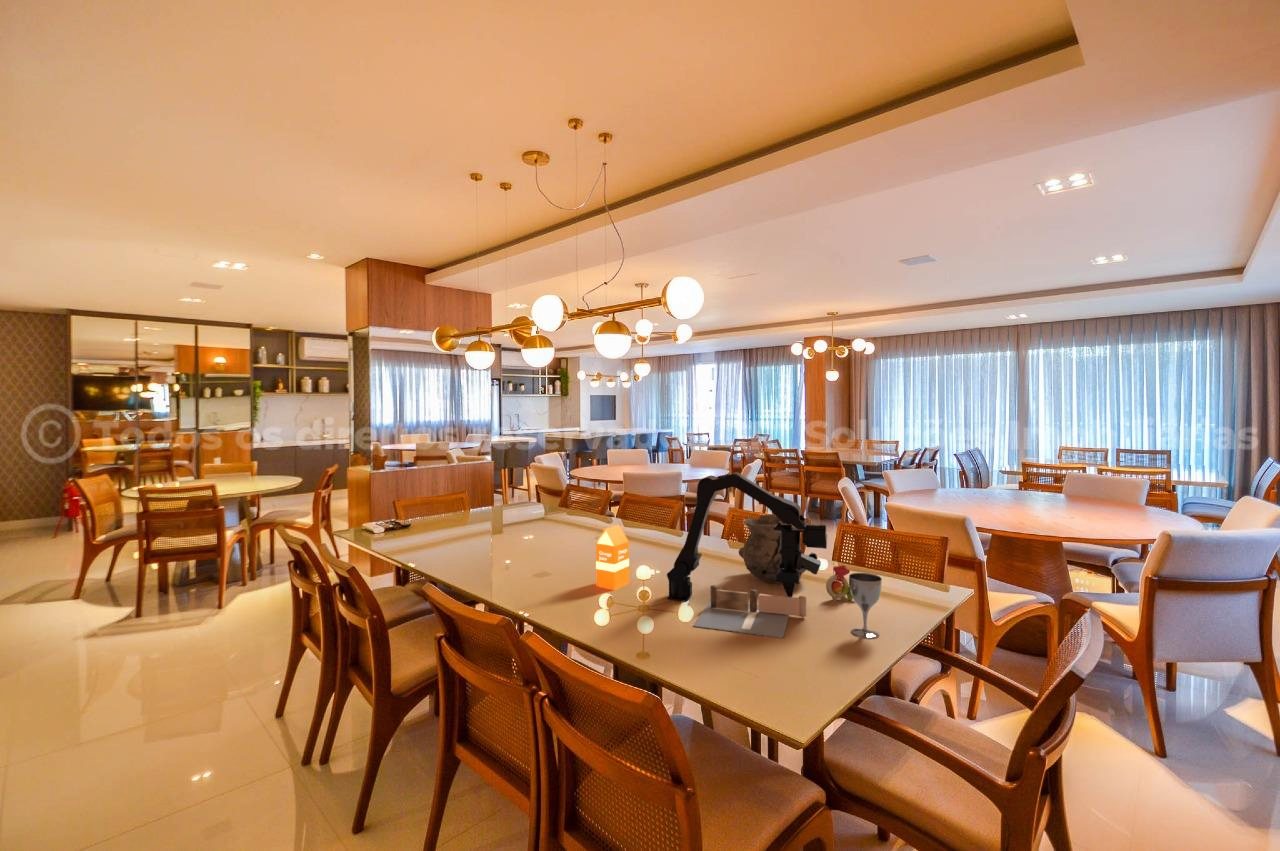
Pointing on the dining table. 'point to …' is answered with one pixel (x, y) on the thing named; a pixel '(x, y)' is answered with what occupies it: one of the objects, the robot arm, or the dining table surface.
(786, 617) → the card
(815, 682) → the dining table surface
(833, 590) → the bird rattle
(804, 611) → the swing panel
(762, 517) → the clay pot
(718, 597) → the fixed fence
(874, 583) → the wine glass
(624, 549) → the orange juice
